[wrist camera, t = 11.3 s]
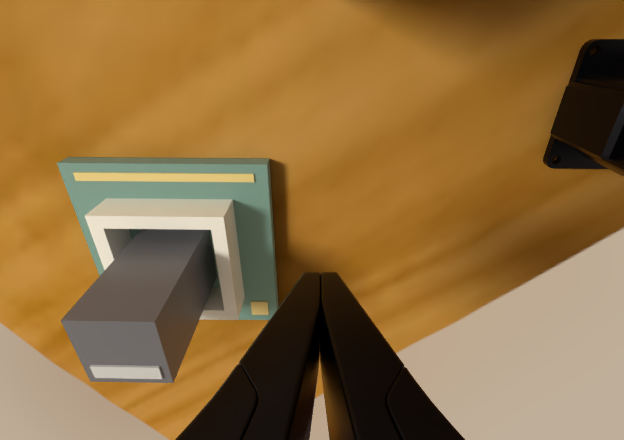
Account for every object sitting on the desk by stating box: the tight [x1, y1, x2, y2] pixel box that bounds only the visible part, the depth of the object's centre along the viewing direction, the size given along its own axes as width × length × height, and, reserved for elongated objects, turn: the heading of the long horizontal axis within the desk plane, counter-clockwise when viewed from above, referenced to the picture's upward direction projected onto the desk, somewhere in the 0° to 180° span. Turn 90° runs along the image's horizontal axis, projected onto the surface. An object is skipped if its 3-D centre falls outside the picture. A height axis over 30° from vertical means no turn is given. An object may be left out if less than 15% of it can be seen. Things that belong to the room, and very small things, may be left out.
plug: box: [61, 229, 217, 383], centre depth 19 cm, size 4×4×8 cm
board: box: [57, 157, 279, 320], centre depth 23 cm, size 12×12×1 cm
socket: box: [85, 198, 245, 320], centre depth 22 cm, size 8×8×2 cm
